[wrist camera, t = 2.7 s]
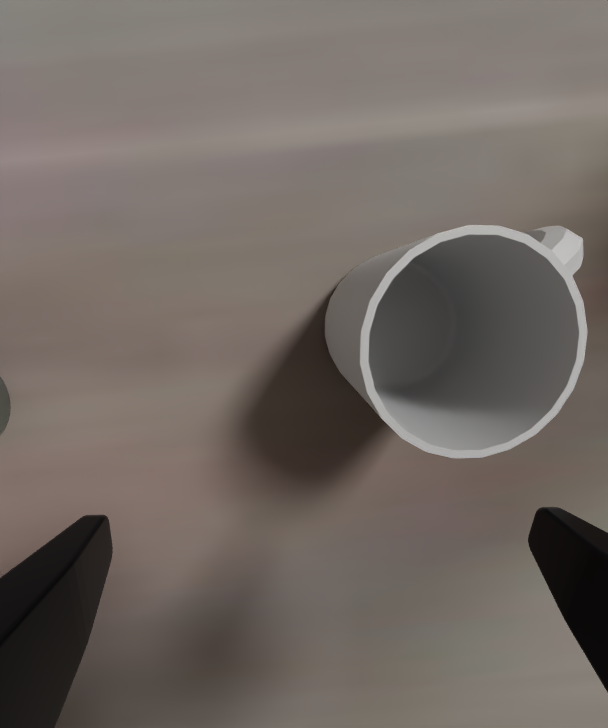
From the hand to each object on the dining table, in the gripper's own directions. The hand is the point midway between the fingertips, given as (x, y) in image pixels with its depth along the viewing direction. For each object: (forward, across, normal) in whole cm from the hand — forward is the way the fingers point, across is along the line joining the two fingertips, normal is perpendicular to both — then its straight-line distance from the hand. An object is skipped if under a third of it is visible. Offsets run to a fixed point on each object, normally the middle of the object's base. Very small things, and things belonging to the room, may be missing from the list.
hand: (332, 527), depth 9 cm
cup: (+14, -6, -2) cm, 15 cm away
